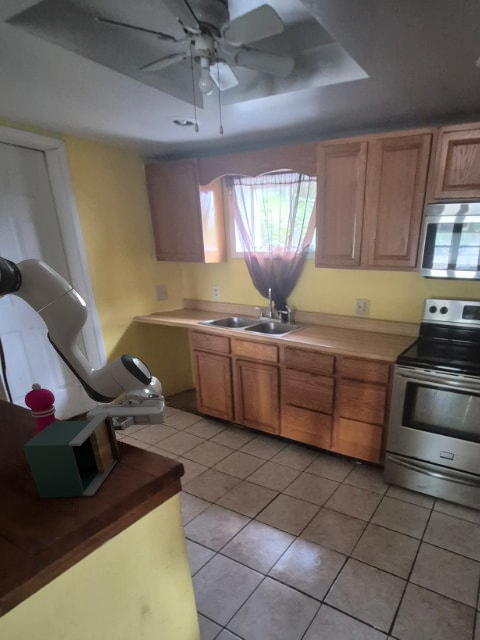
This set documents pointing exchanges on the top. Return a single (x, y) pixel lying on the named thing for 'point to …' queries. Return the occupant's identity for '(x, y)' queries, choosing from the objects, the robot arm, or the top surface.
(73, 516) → the top surface
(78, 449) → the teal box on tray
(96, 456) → the sliding door
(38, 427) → the pepper mill
